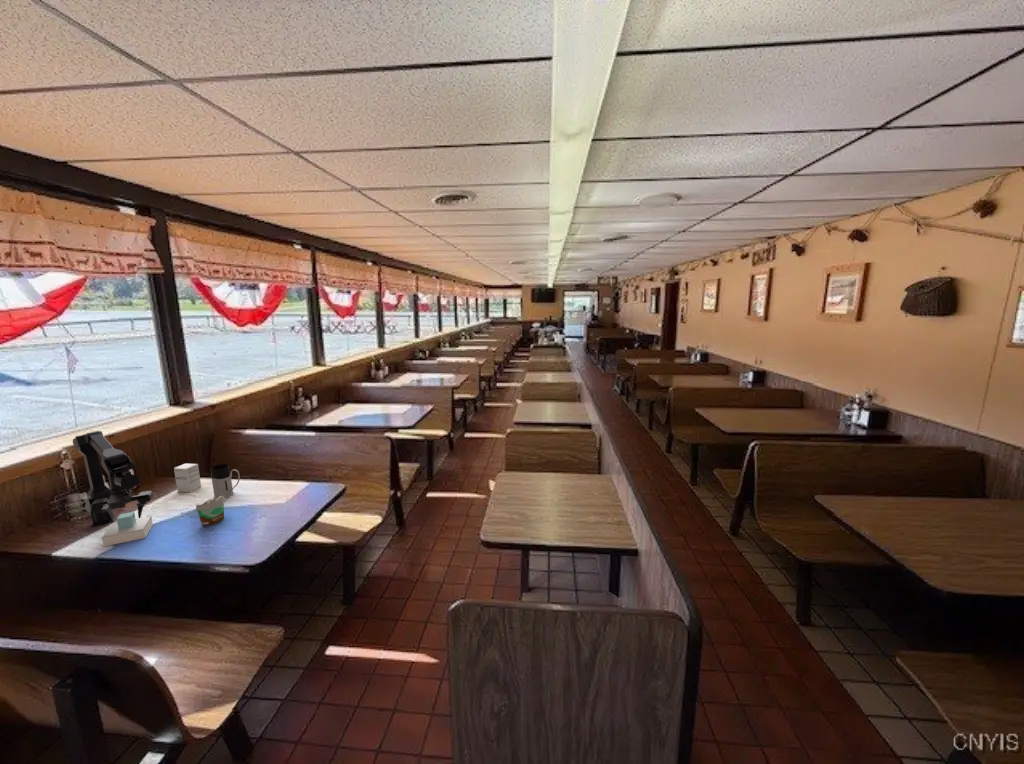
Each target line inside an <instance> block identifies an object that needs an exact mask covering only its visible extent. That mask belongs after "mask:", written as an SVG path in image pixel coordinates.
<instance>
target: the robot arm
mask: <svg viewBox="0 0 1024 764" xmlns="http://www.w3.org/2000/svg"><path fill="white" fill-rule="evenodd" d="M72 445H73V447H74V448H75V449H76V451H77V452H78V453H80V454H81V455H82V456H83V460H84V465H85V470H86V474H87V478H88V481H89V482H88V483H89V487H90V488H89V490H88V492H87V493H86V500H85V504H84V509H85V511H86V512H88V513H90V515H91V516H90V517H91V521H92V523H91V524H90V526H96V525H97V526H98V525H103V524H107V523H111V524H112V523H115V519H114V518H116V516H115V512H114V510H115V509H121V508H124V507H126V505H127V504H128V503H131V502H134V501H135V502H136V501H137V503H136V507H137V517H138V518H141V517H142V514H143V510H144V506H145V504H147V503H148V502H151V500H152V499H153V497H154V493H153V491H152V490H146V491H140V492H139V493H138V494H137V495H132V493H133V492H132V491H131V489H134V488H135V487H136V486H137V485H138V484H139V477H138V476H137V475H135V474H132V472H131V470H134V463H133V461H132V460H131V458H130V456H129V455H128V454H127V453H125V452H124V451H123V450H121V449H117V448H114V447H113V445H112V444H111V442H109V441H108V440H107V438H106V437H105V436H104V433H103V431H102V430H95V431H91V432H87V433H84V434H80V435H79V434H78V435H76V436H75V437H74V438H73V439H72ZM99 456H100V457H101V460H100V457H99ZM102 468H103V470H104V471H105V473H106V474H107V477H108V480H109V481H108V482H109V487H110V488H109V487H108V486H107V485H106V484H105V480H104V475H103V471H102Z"/></svg>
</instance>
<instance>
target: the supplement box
mask: <svg viewBox="0 0 1024 764" xmlns="http://www.w3.org/2000/svg"><path fill="white" fill-rule="evenodd" d="M173 470H174V471H173V472H174V477H175V483H176V490H177V492H179V493H180V492H181V493H182V492H183V493H185V492H186V493H191V492H194V491H196V490H198V489H200V488H202V483H201V476H200V469H199V464H198V463H183V464H181V465H178V466H175V467H174V468H173Z"/></svg>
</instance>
